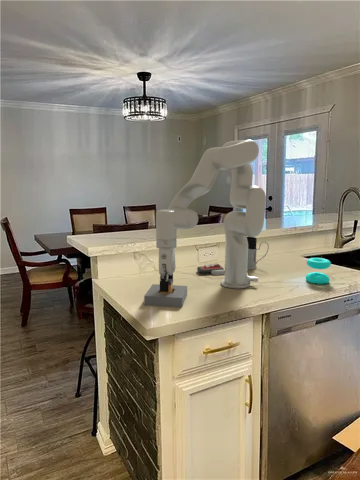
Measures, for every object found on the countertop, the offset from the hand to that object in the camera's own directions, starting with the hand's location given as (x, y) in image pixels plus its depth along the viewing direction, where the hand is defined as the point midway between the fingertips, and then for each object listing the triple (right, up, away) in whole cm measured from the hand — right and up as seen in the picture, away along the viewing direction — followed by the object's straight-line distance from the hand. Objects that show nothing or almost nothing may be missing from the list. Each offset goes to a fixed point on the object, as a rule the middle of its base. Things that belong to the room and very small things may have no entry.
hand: (166, 287), depth 139 cm
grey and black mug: (+42, +4, +47) cm, 64 cm away
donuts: (+66, -1, +24) cm, 70 cm away
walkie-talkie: (+23, +2, +38) cm, 45 cm away
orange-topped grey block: (0, -4, +1) cm, 4 cm away
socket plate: (0, -5, +1) cm, 5 cm away
